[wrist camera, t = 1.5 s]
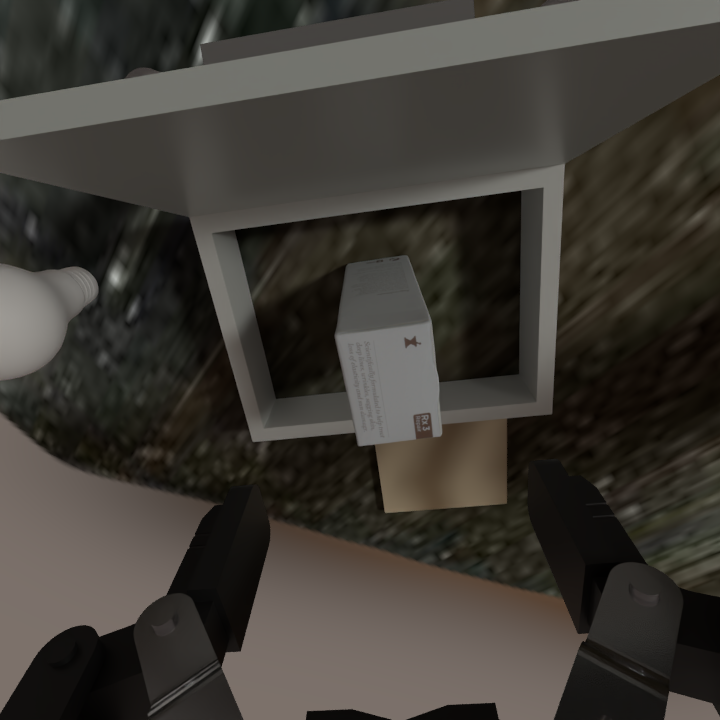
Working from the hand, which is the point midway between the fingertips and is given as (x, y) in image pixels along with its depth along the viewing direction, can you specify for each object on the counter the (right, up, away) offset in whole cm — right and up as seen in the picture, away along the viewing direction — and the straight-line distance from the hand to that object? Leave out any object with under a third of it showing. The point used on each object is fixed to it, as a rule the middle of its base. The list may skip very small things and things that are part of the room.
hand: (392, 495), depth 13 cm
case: (+1, +8, +17) cm, 19 cm away
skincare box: (+1, +8, +17) cm, 19 cm away
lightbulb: (-20, +9, +17) cm, 28 cm away
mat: (+6, -4, +22) cm, 23 cm away
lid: (-1, +11, +3) cm, 12 cm away
